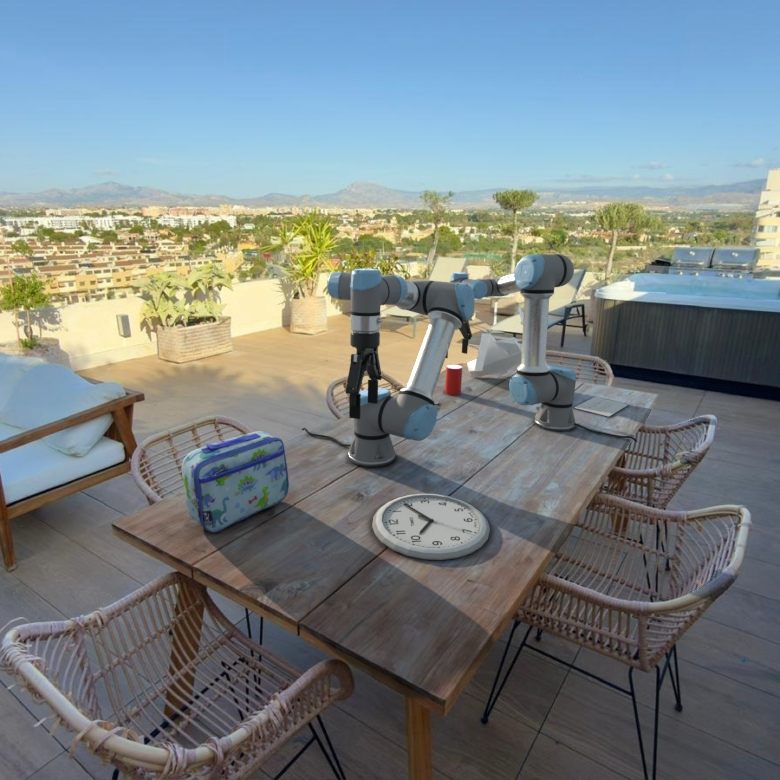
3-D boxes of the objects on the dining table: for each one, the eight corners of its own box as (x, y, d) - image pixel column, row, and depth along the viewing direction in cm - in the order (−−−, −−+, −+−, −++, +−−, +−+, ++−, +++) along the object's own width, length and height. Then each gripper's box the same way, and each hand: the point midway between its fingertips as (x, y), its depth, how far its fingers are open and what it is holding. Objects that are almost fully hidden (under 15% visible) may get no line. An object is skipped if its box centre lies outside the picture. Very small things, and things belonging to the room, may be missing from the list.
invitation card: (608, 416, 214) (573, 407, 224) (608, 416, 214) (573, 408, 224) (628, 404, 229) (594, 396, 238) (628, 405, 229) (594, 397, 238)
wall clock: (505, 551, 121) (375, 556, 118) (504, 557, 121) (375, 562, 119) (474, 489, 149) (369, 491, 147) (474, 494, 150) (369, 497, 147)
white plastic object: (487, 418, 267) (468, 395, 242) (469, 346, 289) (449, 318, 264) (558, 394, 255) (545, 368, 230) (533, 321, 277) (518, 289, 252)
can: (442, 393, 241) (443, 366, 238) (450, 389, 247) (451, 363, 243) (455, 396, 237) (456, 369, 233) (463, 392, 242) (465, 366, 239)
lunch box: (202, 541, 125) (194, 461, 119) (183, 523, 133) (174, 447, 126) (293, 503, 143) (290, 432, 137) (271, 490, 150) (268, 421, 144)
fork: (425, 411, 216) (425, 407, 215) (435, 400, 230) (435, 396, 230) (431, 412, 215) (431, 408, 214) (441, 401, 229) (441, 396, 229)
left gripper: (361, 340, 121) (360, 427, 127) (393, 324, 143) (391, 398, 149) (331, 338, 123) (332, 423, 129) (368, 322, 146) (367, 395, 152)
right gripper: (468, 305, 241) (465, 349, 247) (431, 310, 225) (429, 357, 231) (481, 307, 236) (478, 352, 242) (445, 312, 219) (442, 361, 226)
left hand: (364, 410), depth 139 cm, fingers open, 13 cm apart
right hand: (454, 355), depth 237 cm, fingers open, 13 cm apart
